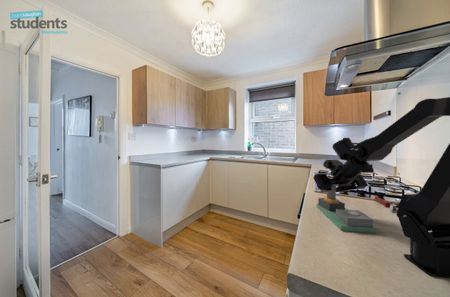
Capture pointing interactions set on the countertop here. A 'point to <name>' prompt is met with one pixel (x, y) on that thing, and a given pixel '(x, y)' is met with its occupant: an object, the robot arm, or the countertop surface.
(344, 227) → the board
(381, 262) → the countertop surface
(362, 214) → the grey button box
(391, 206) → the pliers
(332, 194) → the plug
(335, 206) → the frame
